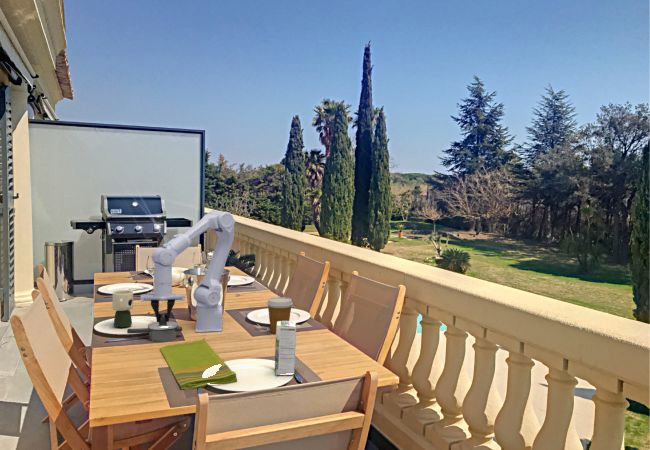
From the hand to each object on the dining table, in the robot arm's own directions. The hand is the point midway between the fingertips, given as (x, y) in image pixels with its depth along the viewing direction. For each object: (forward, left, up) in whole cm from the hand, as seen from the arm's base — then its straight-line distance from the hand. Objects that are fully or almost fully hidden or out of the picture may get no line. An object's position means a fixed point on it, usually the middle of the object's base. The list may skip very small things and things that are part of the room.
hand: (162, 321), depth 178 cm
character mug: (+15, -16, -6) cm, 23 cm away
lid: (0, +1, -3) cm, 3 cm away
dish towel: (-11, +29, -6) cm, 32 cm away
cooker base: (+3, 0, -6) cm, 6 cm away
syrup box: (-36, +40, -6) cm, 54 cm away
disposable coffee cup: (-41, -1, -6) cm, 41 cm away
